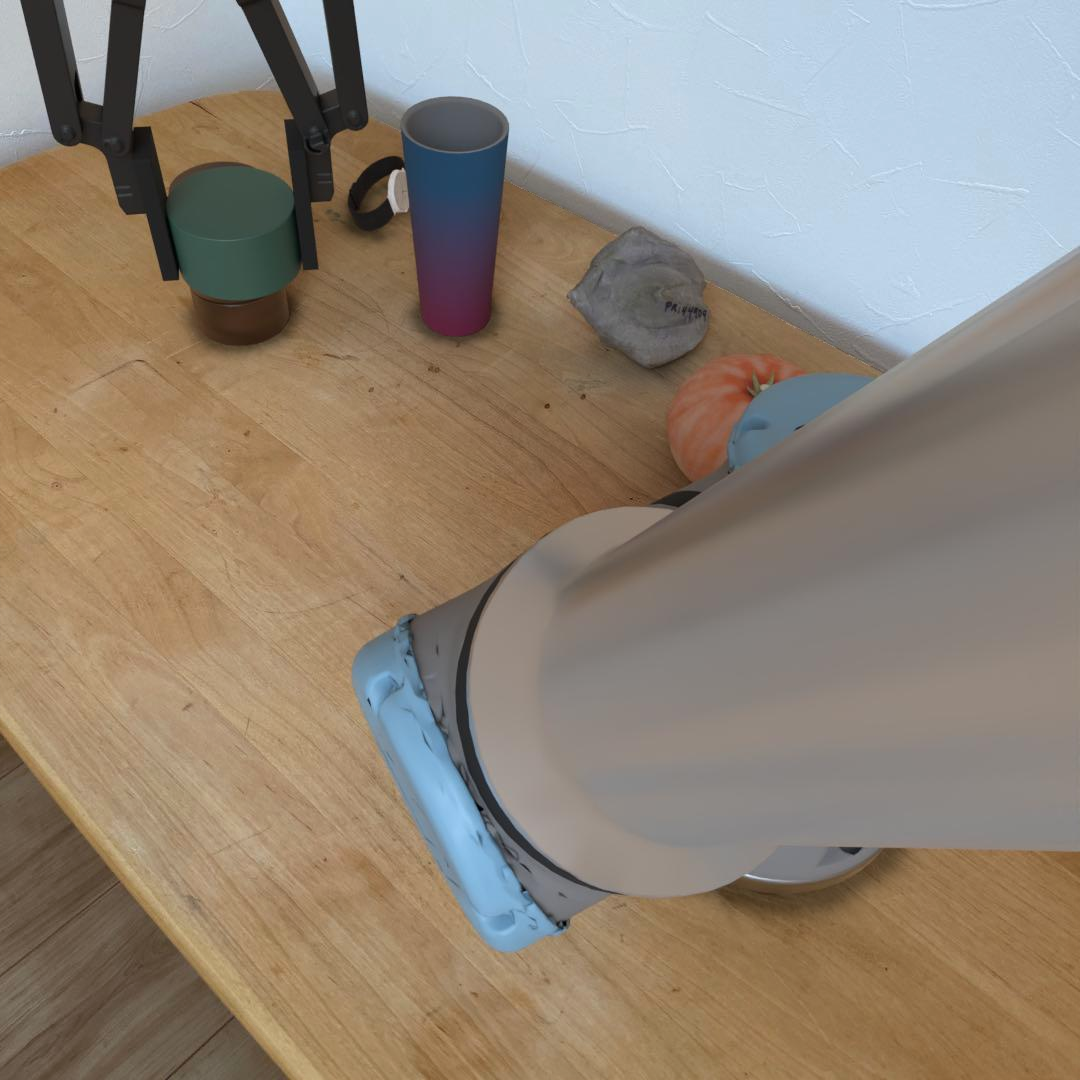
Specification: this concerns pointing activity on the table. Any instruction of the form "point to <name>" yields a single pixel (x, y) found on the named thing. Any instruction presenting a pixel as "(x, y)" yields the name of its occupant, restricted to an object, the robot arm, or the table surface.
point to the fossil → (644, 298)
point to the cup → (455, 207)
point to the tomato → (718, 407)
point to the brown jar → (240, 317)
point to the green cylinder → (234, 232)
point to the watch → (394, 200)
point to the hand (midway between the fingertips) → (240, 257)
